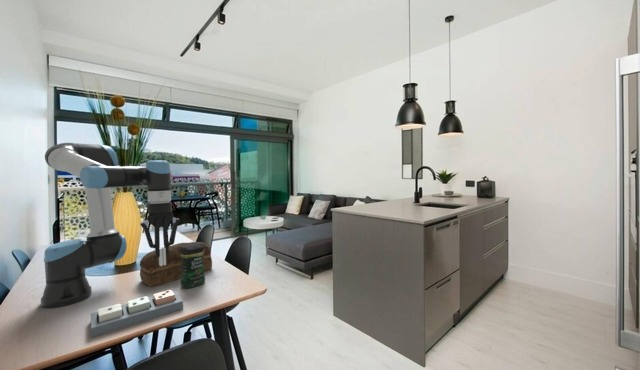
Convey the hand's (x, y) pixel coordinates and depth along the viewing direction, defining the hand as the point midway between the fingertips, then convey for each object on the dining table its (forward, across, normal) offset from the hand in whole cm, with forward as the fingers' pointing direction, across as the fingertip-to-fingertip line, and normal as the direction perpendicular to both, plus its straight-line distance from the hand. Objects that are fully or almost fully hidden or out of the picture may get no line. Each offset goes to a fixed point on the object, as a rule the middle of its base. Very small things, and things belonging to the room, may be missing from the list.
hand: (162, 264), depth 100 cm
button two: (+14, -8, 0) cm, 16 cm away
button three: (+14, 0, 0) cm, 14 cm away
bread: (+17, +12, +33) cm, 39 cm away
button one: (+14, -16, 0) cm, 21 cm away
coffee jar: (+17, +14, +15) cm, 27 cm away
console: (+16, -8, 0) cm, 18 cm away
